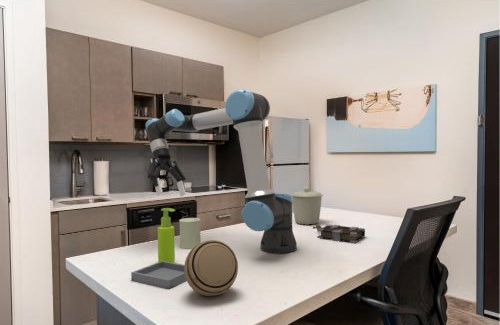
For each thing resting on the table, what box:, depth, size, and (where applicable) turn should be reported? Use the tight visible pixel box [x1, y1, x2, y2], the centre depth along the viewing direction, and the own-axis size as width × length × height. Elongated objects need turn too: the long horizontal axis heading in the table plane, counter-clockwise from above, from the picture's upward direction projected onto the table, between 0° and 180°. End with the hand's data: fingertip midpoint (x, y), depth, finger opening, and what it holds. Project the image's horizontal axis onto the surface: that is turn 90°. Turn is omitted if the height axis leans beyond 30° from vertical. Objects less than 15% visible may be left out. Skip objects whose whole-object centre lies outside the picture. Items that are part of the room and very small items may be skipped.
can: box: [178, 217, 202, 250], centre depth 150 cm, size 9×9×12 cm
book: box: [312, 223, 366, 245], centre depth 164 cm, size 15×25×5 cm, turn 55°
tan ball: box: [183, 239, 239, 297], centre depth 97 cm, size 15×15×15 cm
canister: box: [290, 186, 324, 226], centre depth 198 cm, size 18×18×21 cm
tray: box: [130, 261, 187, 290], centre depth 111 cm, size 16×14×2 cm
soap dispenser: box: [157, 207, 176, 263], centre depth 126 cm, size 6×7×20 cm
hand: (171, 194), depth 148 cm, fingers open, 13 cm apart
